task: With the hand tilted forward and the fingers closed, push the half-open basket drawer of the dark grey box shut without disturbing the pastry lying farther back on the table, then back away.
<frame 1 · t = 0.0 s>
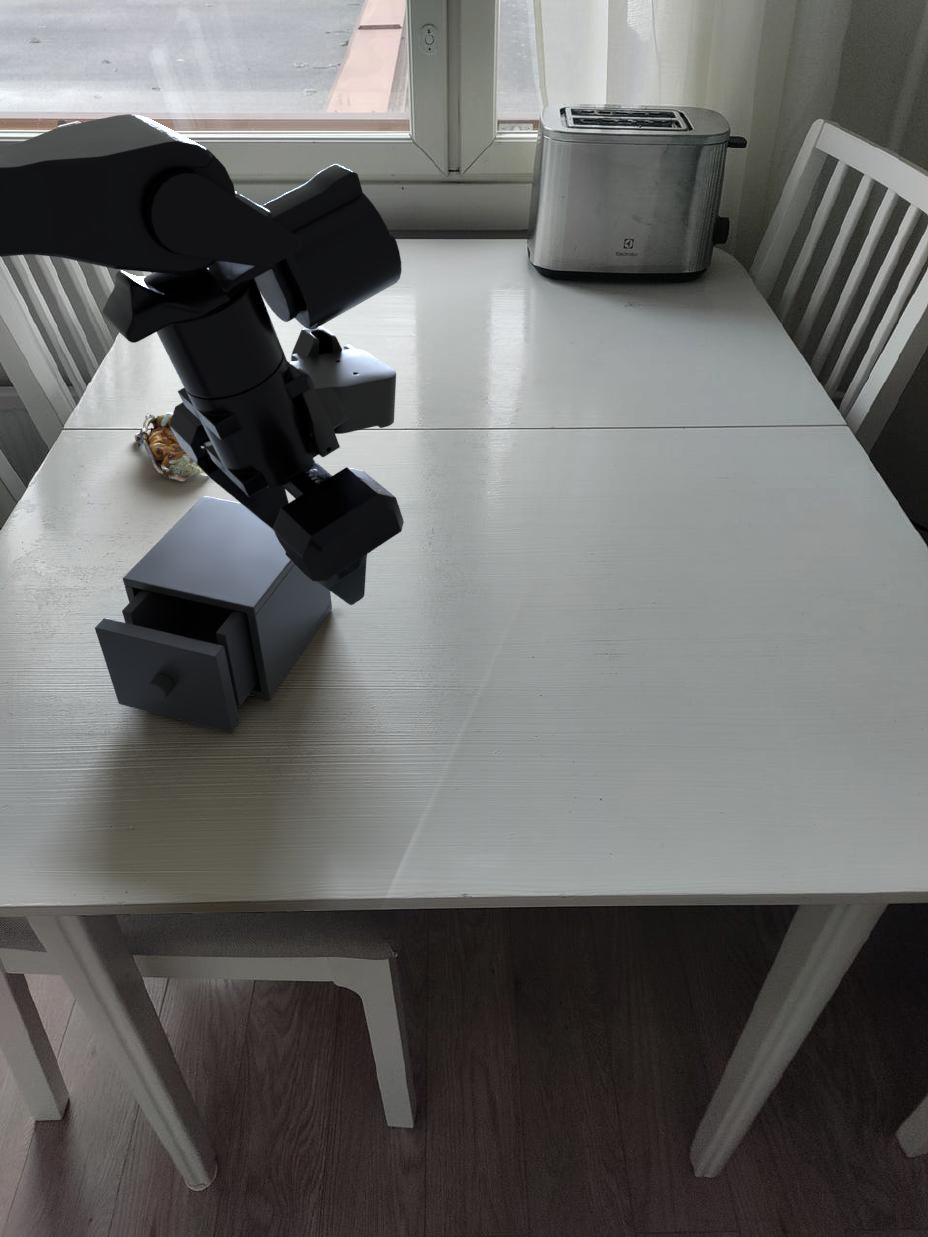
hand: (320, 564, 64), 15 cm above the table, tool pointing down, fingers open, 9 cm apart
fryer drawer: (198, 639, 73), point 5 cm above the table, slide at 3.5 cm
pastry: (181, 455, 103), on the table
dark grey box: (243, 638, 80), on the table
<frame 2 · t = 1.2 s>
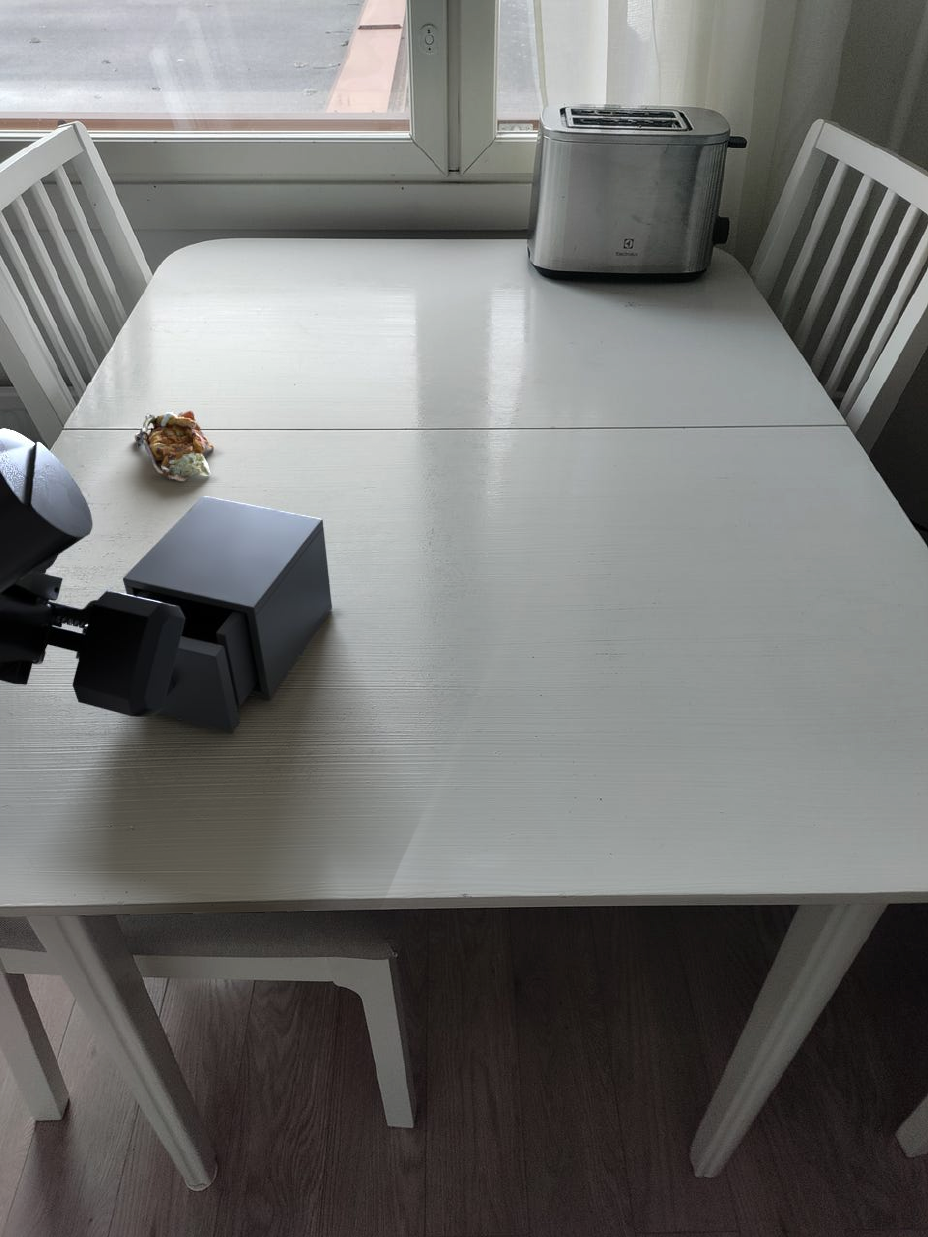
hand: (103, 639, 61), 13 cm above the table, tool tilted 45°, fingers open, 6 cm apart
nothing on the table moved.
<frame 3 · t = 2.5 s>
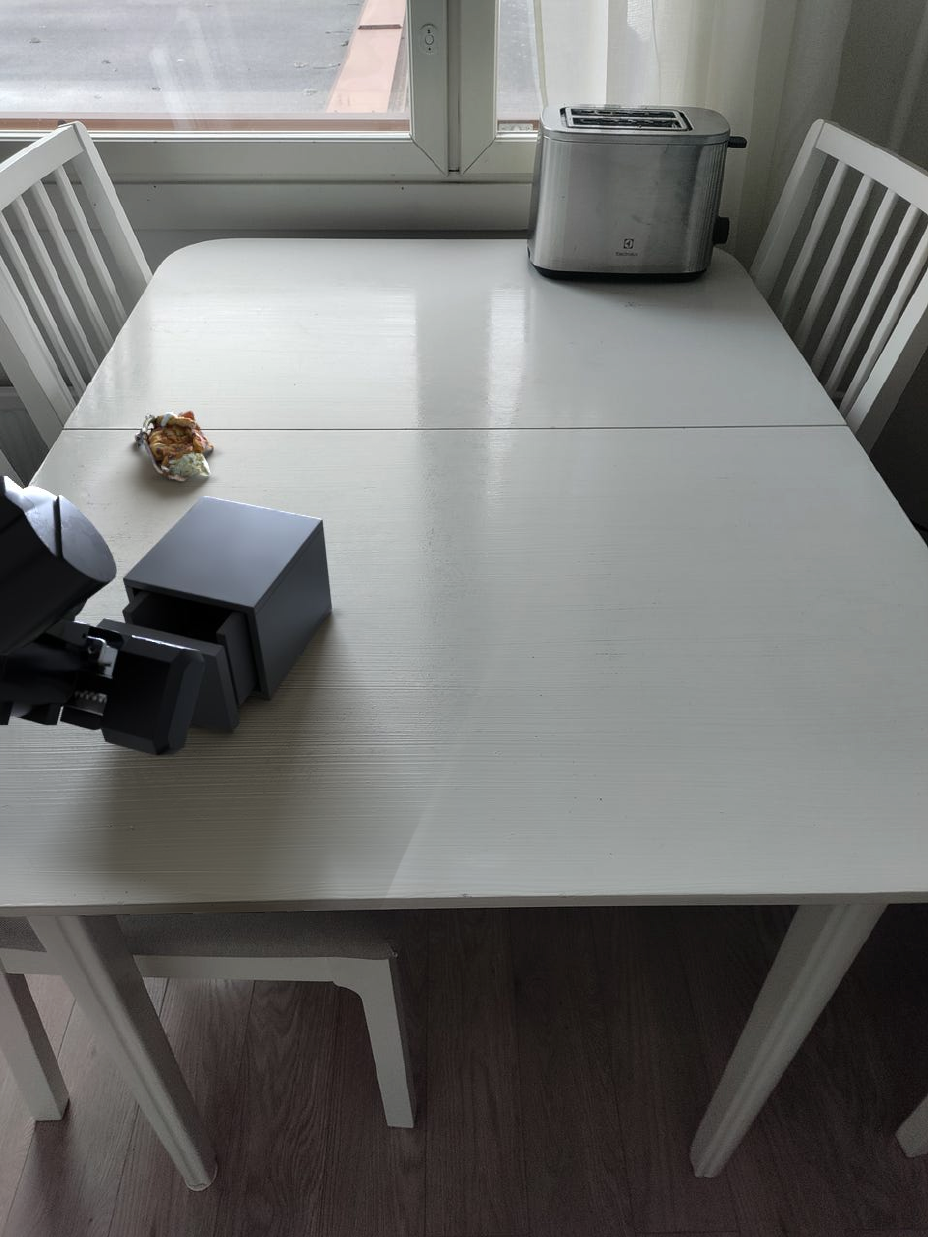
hand: (125, 675, 64), 9 cm above the table, tool tilted 45°, fingers closed
nothing on the table moved.
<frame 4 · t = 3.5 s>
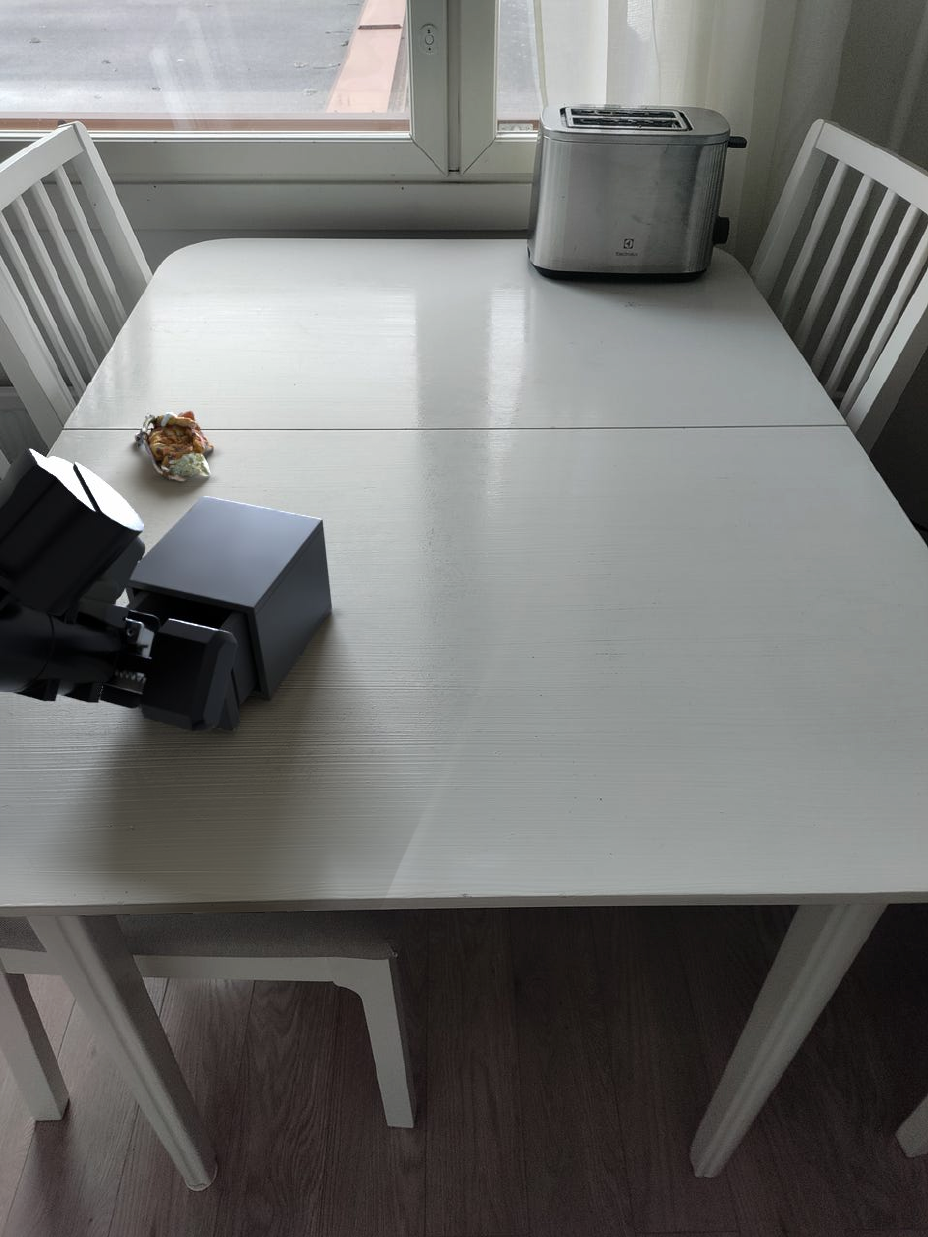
hand: (158, 658, 68), 7 cm above the table, tool tilted 45°, fingers closed, pressing on fryer drawer
fryer drawer: (199, 638, 73), point 5 cm above the table, slide at 3.4 cm, touching gripper
everything else where it was.
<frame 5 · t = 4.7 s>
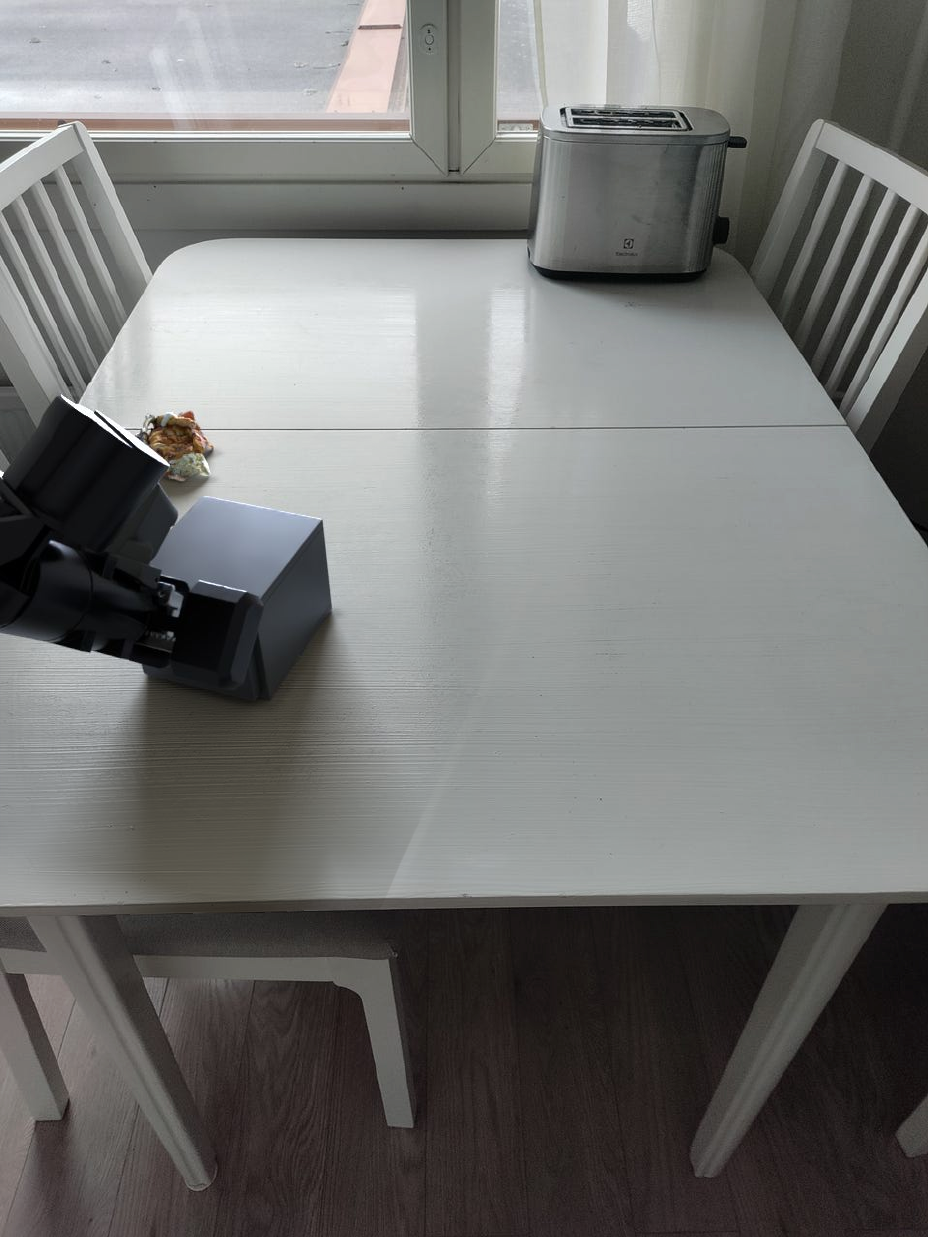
hand: (183, 628, 70), 7 cm above the table, tool tilted 45°, fingers closed, pressing on fryer drawer
fryer drawer: (221, 611, 76), point 5 cm above the table, slide at 0.0 cm, touching dark grey box, gripper
everything else where it was.
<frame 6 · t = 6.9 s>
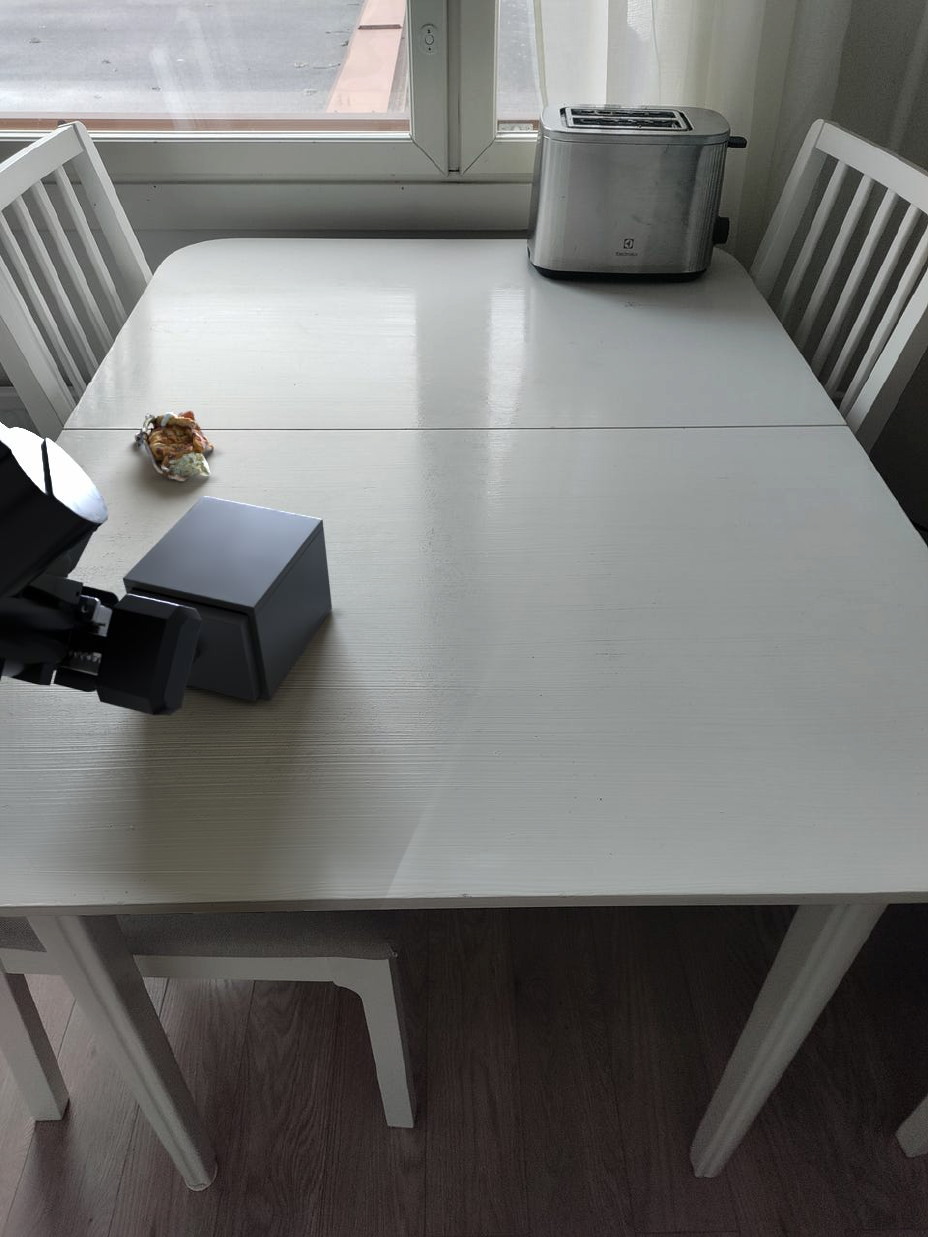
hand: (120, 641, 63), 11 cm above the table, tool tilted 45°, fingers closed
fryer drawer: (221, 611, 76), point 5 cm above the table, slide at 0.0 cm, touching dark grey box
everything else where it was.
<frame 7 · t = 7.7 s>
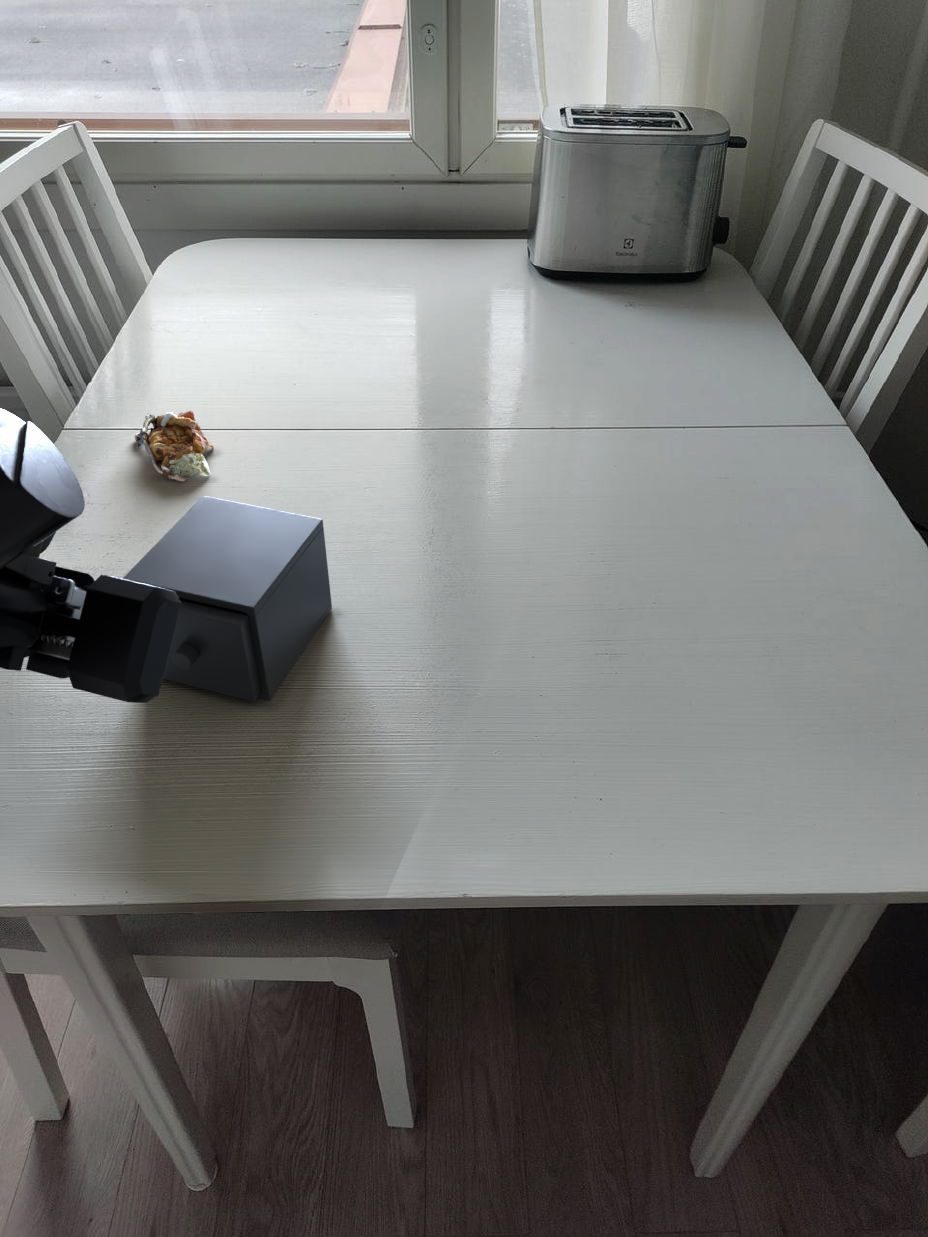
hand: (99, 626, 60), 14 cm above the table, tool tilted 45°, fingers closed
nothing on the table moved.
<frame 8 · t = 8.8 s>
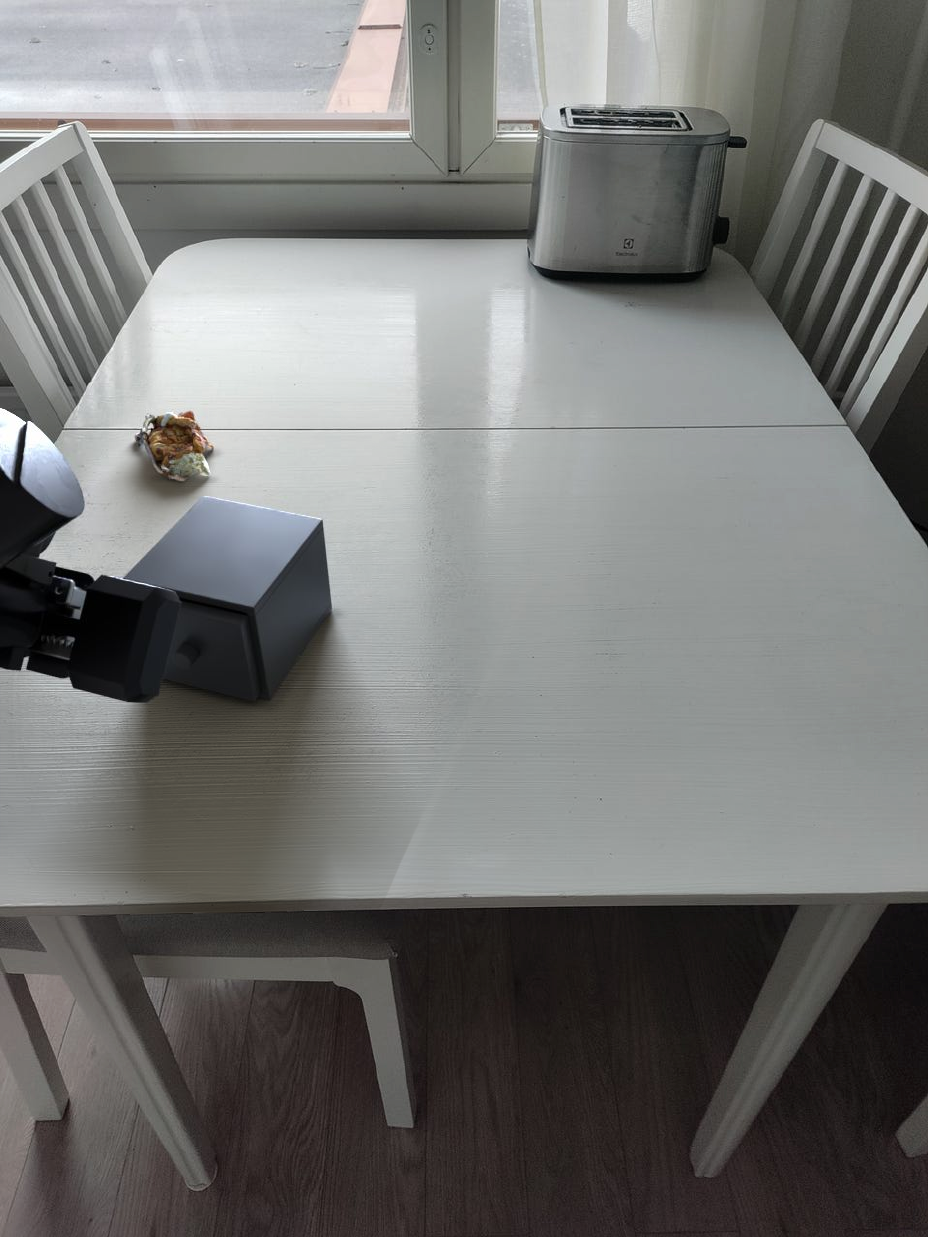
hand: (99, 626, 60), 14 cm above the table, tool tilted 45°, fingers closed
nothing on the table moved.
at the end: fryer drawer slide at 0.0 cm; pastry moved 0.2 cm from its start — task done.
